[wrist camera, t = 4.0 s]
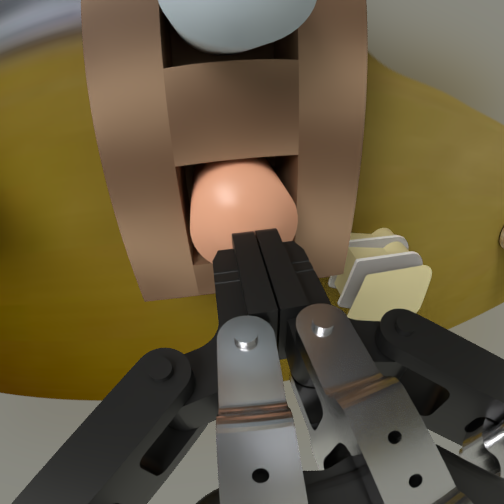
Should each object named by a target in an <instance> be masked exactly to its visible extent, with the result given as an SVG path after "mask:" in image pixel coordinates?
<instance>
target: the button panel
mask: <svg viewBox="0 0 504 504" xmlns="http://www.w3.org/2000/svg"><path fill="white" fill-rule="evenodd" d="M81 19H82V38H83V51H84V61H85V71H86V79H87V87H88V94H89V100H90V107H91V113H92V118H93V124H94V129H95V134H96V139H97V144H98V149H99V154H100V158H101V162H102V167H103V171H104V175H105V179H106V183H107V187H108V191H109V195H110V198H111V202H112V205H113V209H114V212H115V216H116V219H117V223H118V226H119V229H120V232H121V236H122V239H123V242H124V245H125V248H126V251H127V254H128V257H129V260H130V263H131V266H132V268H133V271H134V274H135V277H136V280H137V282H138V285H139V288H140V290H141V293H142V296H143V298H144V301H154V300H163V299H172V298H181V297H189V296H197V295H205V294H213V293H216V292H215V282H214V272H213V264H212V263H211V262H209V261H208V260H206V259H205V258H204V257H203V256H202V255H201V254H200V253H199V252H198V251H197V249H196V247H195V246H194V243H193V241H192V238H191V234H190V210H191V187H192V174H193V170H194V168H195V165H196V164H199V163H207V162H215V161H224V160H234V159H244V158H255V157H265V158H266V159H267V161H268V162H269V164H270V165H271V167H272V168H273V170H274V171H275V173H276V174H277V176H278V177H279V179H280V181H281V182H282V184H283V185H284V187H285V188H286V190H287V191H288V193H289V194H290V196H291V198H292V199H293V201H294V203H295V206H296V209H297V214H298V225H297V230H296V234H295V236H294V238H293V240H292V241H294V242H295V243H297V244H298V245H299V246H301V247H302V248H303V249H304V250H305V252H306V254H307V256H308V258H309V262H311V264H312V266H313V268H314V271H315V272H316V274H317V276H318V278H323V277H329V276H335V275H341V274H343V273H344V268H345V263H346V258H347V252H348V247H349V241H350V236H351V230H352V224H353V217H354V211H355V204H356V197H357V190H358V182H359V174H360V166H361V157H362V147H363V136H364V124H365V109H366V91H367V5H366V0H317V1H316V4H315V7H314V9H313V10H312V12H311V14H310V15H309V17H308V18H307V19H306V21H305V22H304V23H303V24H302V25H301V26H300V27H299V28H297V29H296V30H295V31H293V32H292V33H291V34H289V35H287V36H285V37H284V38H281V39H279V40H277V41H274V42H271V43H268V44H265V45H262V46H259V47H256V48H253V49H251V50H248V51H245V52H242V53H239V54H234V55H223V56H220V55H212V54H207V53H204V52H201V51H198V50H196V49H194V48H193V47H191V46H189V45H188V44H187V43H186V42H185V41H184V40H183V39H182V38H181V37H180V36H179V34H178V33H177V31H176V30H175V28H174V27H173V25H172V24H171V23H170V21H169V20H168V18H167V17H166V15H165V14H164V12H163V11H162V9H161V7H160V5H159V2H158V0H81Z"/></svg>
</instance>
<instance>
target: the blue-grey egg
mask: <svg viewBox="0 0 504 504" xmlns="http://www.w3.org/2000/svg"><path fill="white" fill-rule="evenodd" d="M316 1H317V0H158V2H159V5H160V7H161V9H162V11H163V12H164V14H165V15H166V17H167V18H168V20H169V21H170V23H171V24H172V25H173V27H174V28H175V30H176V31H177V33H178V34H179V36H180V37H181V38H182V39H183V40H184V41H185V42H186V43H187V44H188V45H189V46H191V47H193V48H194V49H196V50H198V51H201V52H204V53H207V54H212V55H220V56H223V55H234V54H239V53H242V52H245V51H248V50H251V49H253V48H256V47H259V46H262V45H265V44H268V43H271V42H274V41H277V40H279V39H281V38H284V37H285V36H287V35H289V34H291V33H292V32H293V31H295V30H296V29H297V28H299V27H300V26H301V25H302V24H303V23H304V22H305V21H306V19H307V18H308V17H309V15H310V14H311V12H312V10H313V9H314V7H315V4H316Z"/></svg>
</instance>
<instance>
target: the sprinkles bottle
mask: <svg viewBox="0 0 504 504" xmlns="http://www.w3.org/2000/svg"><path fill="white" fill-rule="evenodd" d="M499 242H500V245H501V247H502V248H504V227H503V230H502V232H501V235H500V240H499Z"/></svg>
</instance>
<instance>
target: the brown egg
mask: <svg viewBox="0 0 504 504" xmlns="http://www.w3.org/2000/svg"><path fill="white" fill-rule="evenodd" d="M297 225H298V214H297V209H296V206H295V203H294V201H293V199H292V198H291V196H290V194H289V193H288V191H287V190H286V188H285V187H284V185H283V184H282V182H281V181H280V179H279V177H278V176H277V174H276V173H275V171H274V170H273V168H272V167H271V165H270V164H269V162H268V161H267V159H266V158H265V157H255V158H244V159H234V160H224V161H215V162H207V163H199V164H196V165H195V168H194V170H193V174H192V187H191V210H190V234H191V238H192V241H193V243H194V246H195V247H196V249H197V251H198V252H199V253H200V254H201V255H202V256H203V257H204V258H205V259H206V260H208V261H209V262H211V263H212V264H213V262H212V261H213V259H214V257H215V255H216V253H217V251H218V250H226V249H233V246H232V233H240V232H248V231H256V230H264V229H272V228H276V229H277V230H278V232H279V235H280V237H281V239H282V242H288V241H292V240H293V238H294V236H295V234H296V230H297Z"/></svg>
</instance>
